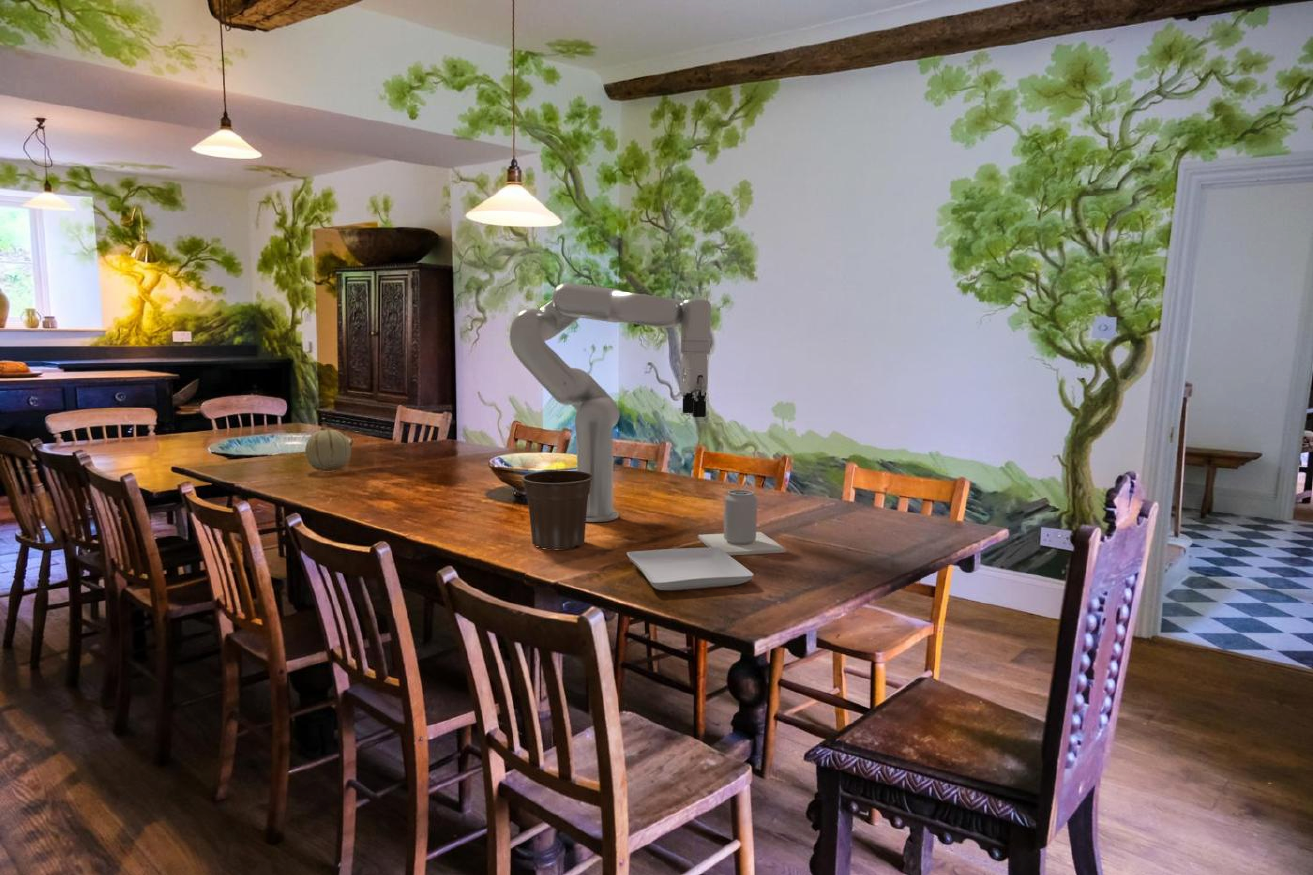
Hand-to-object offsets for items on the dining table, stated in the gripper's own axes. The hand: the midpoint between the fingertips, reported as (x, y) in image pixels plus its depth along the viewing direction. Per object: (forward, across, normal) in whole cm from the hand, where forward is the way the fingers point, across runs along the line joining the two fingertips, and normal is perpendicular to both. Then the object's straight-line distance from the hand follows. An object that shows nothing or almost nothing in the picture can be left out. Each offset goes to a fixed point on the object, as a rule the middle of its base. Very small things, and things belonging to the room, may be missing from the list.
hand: (693, 414), depth 209 cm
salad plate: (+29, +45, -14) cm, 55 cm away
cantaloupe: (+28, -93, -102) cm, 141 cm away
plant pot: (+28, +15, -37) cm, 49 cm away
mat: (+28, +24, +5) cm, 37 cm away
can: (+28, +24, +5) cm, 37 cm away
